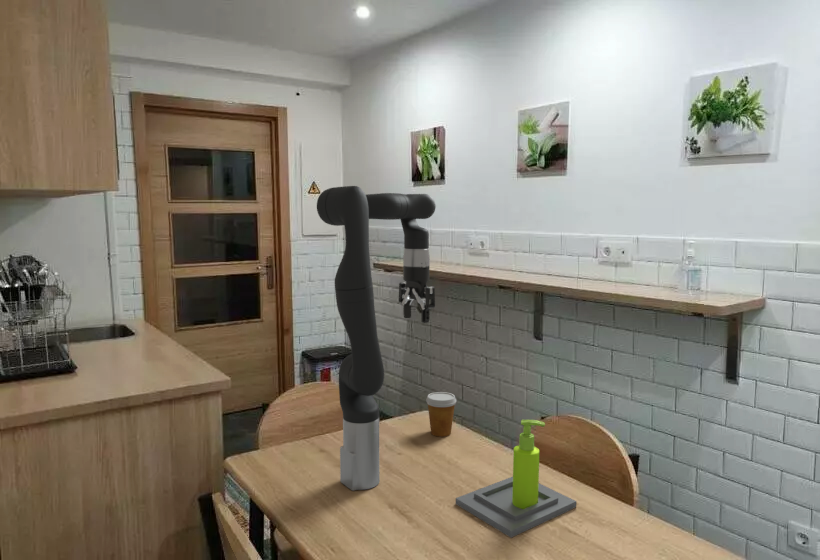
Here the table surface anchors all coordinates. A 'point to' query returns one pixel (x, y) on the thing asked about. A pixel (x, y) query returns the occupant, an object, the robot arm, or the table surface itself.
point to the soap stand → (513, 507)
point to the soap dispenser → (526, 467)
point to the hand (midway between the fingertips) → (416, 320)
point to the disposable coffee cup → (441, 412)
